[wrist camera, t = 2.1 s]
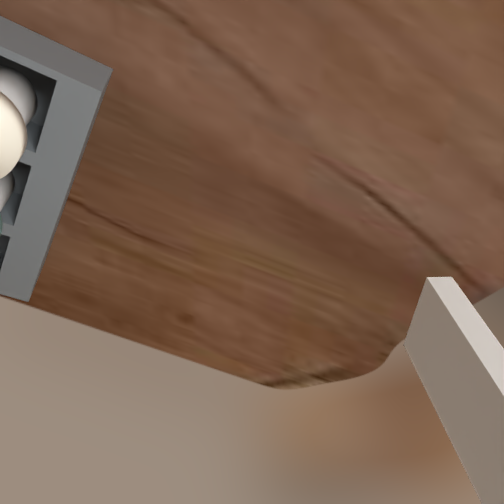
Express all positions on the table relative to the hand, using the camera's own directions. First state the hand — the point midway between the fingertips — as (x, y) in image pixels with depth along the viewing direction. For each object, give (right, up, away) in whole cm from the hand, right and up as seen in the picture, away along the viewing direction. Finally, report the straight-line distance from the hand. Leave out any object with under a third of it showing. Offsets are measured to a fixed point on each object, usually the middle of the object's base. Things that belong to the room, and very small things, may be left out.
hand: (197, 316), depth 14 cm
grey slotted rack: (-17, +9, +22) cm, 29 cm away
